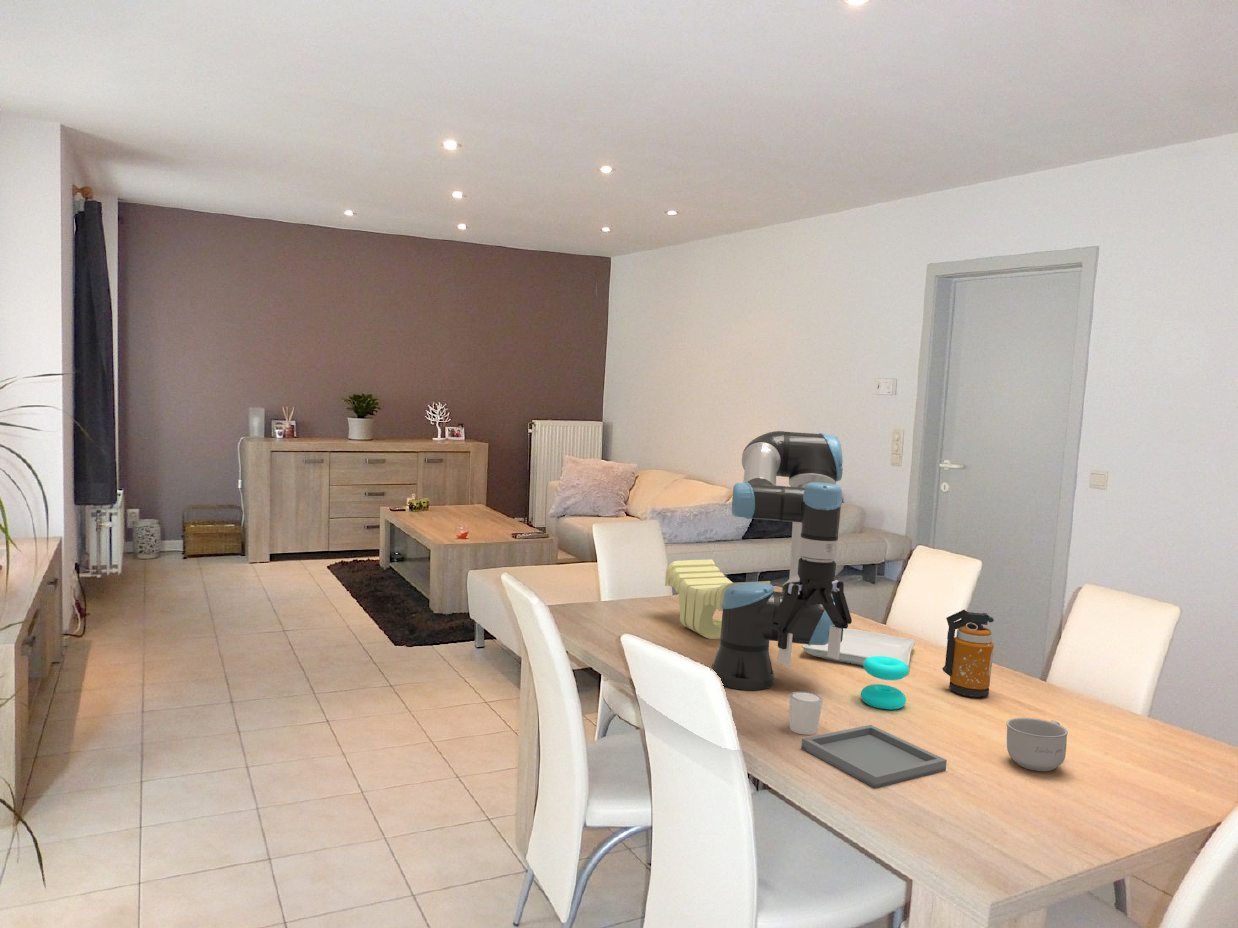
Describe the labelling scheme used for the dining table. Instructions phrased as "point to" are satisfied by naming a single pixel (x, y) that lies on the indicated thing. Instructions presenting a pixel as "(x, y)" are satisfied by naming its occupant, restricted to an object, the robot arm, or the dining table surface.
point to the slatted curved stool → (699, 594)
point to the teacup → (1036, 743)
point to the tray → (873, 755)
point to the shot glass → (804, 712)
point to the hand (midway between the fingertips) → (809, 661)
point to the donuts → (881, 693)
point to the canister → (969, 653)
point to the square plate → (865, 647)
